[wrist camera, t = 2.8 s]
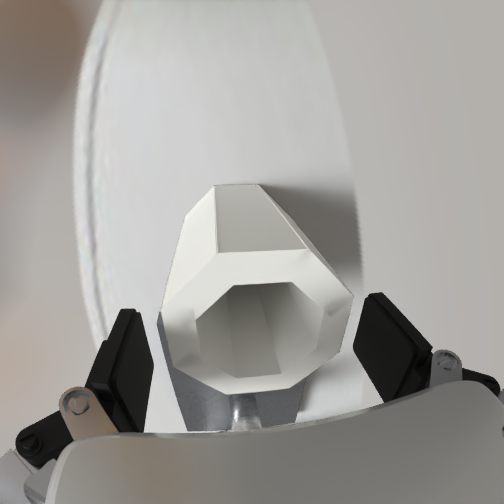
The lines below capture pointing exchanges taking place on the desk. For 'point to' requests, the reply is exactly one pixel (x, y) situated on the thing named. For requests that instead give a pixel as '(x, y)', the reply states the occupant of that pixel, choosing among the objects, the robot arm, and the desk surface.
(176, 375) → the roll holder
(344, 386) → the desk surface
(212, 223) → the white hollow octagonal tube
